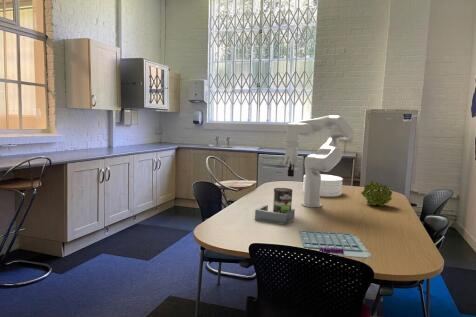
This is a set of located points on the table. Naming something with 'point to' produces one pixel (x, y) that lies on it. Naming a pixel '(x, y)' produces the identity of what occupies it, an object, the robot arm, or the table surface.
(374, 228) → the table surface
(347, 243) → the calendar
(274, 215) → the can holder bay
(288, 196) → the coffee can
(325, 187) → the plate stack
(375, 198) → the green bumpy round lump
